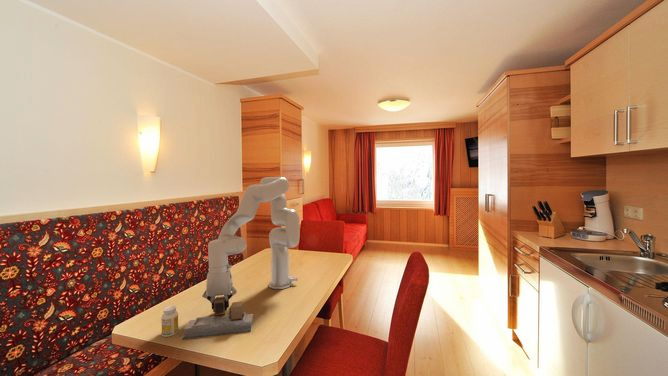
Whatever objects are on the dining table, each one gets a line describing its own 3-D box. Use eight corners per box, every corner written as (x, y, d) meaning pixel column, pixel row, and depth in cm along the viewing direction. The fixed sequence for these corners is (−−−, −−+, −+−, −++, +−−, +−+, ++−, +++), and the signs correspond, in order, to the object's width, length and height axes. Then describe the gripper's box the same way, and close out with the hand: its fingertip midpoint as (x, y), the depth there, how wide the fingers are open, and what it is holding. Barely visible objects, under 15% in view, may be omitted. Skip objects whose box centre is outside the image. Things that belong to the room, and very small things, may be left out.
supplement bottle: (164, 339, 95) (163, 313, 94) (159, 333, 98) (159, 308, 98) (180, 332, 99) (180, 307, 99) (175, 327, 102) (174, 303, 102)
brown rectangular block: (216, 310, 114) (216, 296, 114) (226, 309, 115) (225, 295, 115) (214, 315, 110) (213, 301, 109) (224, 314, 111) (223, 300, 110)
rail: (253, 317, 109) (253, 297, 109) (250, 331, 99) (250, 308, 99) (191, 324, 104) (190, 303, 104) (182, 339, 94) (181, 315, 94)
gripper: (240, 263, 117) (242, 303, 118) (200, 267, 114) (202, 307, 115) (237, 269, 110) (239, 311, 111) (194, 273, 107) (197, 316, 108)
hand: (220, 309), depth 113 cm, fingers closed on brown rectangular block, 4 cm apart
